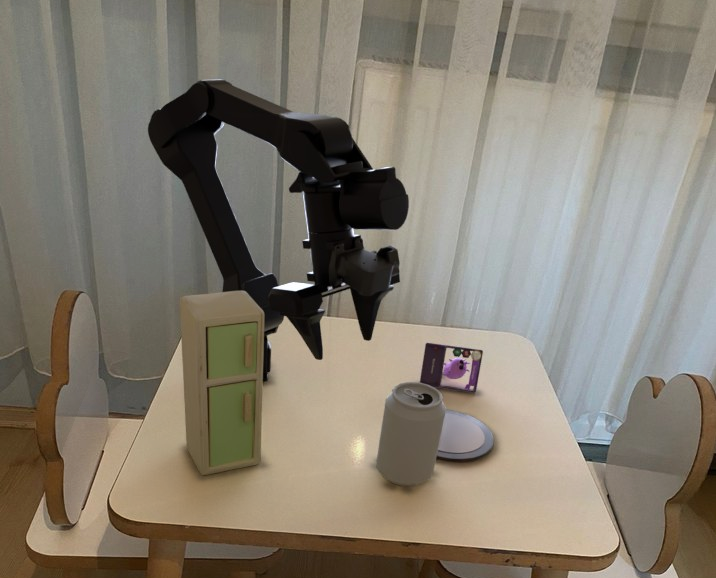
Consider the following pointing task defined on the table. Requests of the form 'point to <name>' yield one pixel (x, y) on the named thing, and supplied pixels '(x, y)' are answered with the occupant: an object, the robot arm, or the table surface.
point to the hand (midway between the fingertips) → (344, 349)
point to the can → (410, 433)
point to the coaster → (463, 438)
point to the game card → (449, 366)
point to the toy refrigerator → (222, 379)
